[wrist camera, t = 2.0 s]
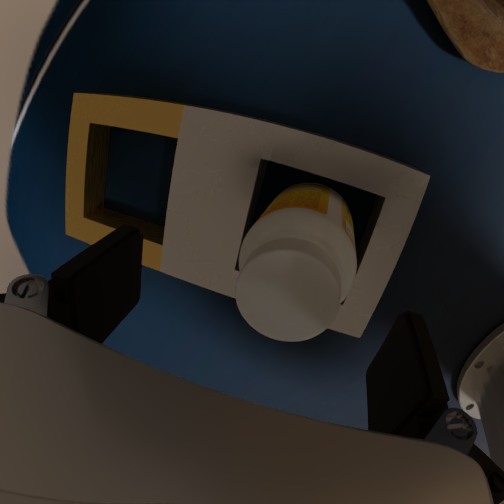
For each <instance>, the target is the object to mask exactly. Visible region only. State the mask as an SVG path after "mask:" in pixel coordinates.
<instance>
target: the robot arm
mask: <svg viewBox="0 0 504 504" xmlns="http://www.w3.org/2000/svg"><path fill="white" fill-rule="evenodd" d="M142 252H143V234H142V233H140V229H139V228H136V227H133V226H130V225H127V224H123V225H122V226H120V227H119V228H117V229H115V230H114V231H112V232H111V233H109V234H108V235H106V236H105V237H103V238H102V239H100V240H99V241H97V242H96V243H94V244H93V245H91V246H90V247H88V248H87V249H85V250H84V251H82V252H81V253H79V254H78V255H77V256H75V257H74V258H72V259H71V260H69V261H68V262H67V263H65V264H64V265H62V266H61V267H59V268H58V269H57V270H55V271H54V272H53V273H51V276H52V279H51V280H49V281H48V282H47V280H46V279H45V278H44V277H42V276H40V275H36V274H27V275H22V276H19V277H17V278H15V279H14V280H12V282H11V283H10V284H9V286H8V288H7V292H6V293H5V294H0V504H504V323H503V324H502V325H500V326H499V327H497V328H496V329H495V330H494V331H493V332H491V333H490V334H489V335H488V336H487V337H486V338H485V339H484V340H483V341H482V342H481V343H480V344H479V345H478V346H477V347H476V348H475V350H474V351H473V353H472V354H471V355H470V357H469V358H468V359H467V361H466V363H465V365H464V366H463V368H462V370H461V373H460V376H459V378H458V383H457V388H456V389H457V397H458V401H459V404H460V407H461V409H462V410H461V409H458V408H449V409H448V405H447V402H448V401H449V396H448V393H447V389H446V385H445V382H444V379H443V375H442V372H441V369H440V366H439V362H438V359H437V356H436V353H435V350H434V347H433V344H432V341H431V338H430V335H429V332H428V330H427V327H426V324H425V321H424V319H423V316H422V315H420V314H417V313H414V312H410V311H406V312H405V313H404V314H402V313H401V314H400V315H399V316H398V318H397V320H396V321H395V323H394V325H393V327H392V329H391V330H390V332H389V334H388V336H387V337H386V339H385V341H384V342H383V344H382V346H381V348H380V349H379V351H378V353H377V354H376V356H375V357H374V359H373V361H372V362H371V364H370V365H369V367H368V369H367V373H366V385H367V404H368V430H364V429H359V428H354V427H349V426H344V425H339V424H335V423H330V422H326V421H321V420H317V419H313V418H308V417H304V416H300V415H297V414H293V413H289V412H285V411H282V410H278V409H274V408H271V407H267V406H264V405H260V404H257V403H254V402H250V401H247V400H244V399H241V398H237V397H234V396H231V395H228V394H225V393H222V392H219V391H216V390H213V389H210V388H208V387H205V386H202V385H199V384H196V383H194V382H191V381H188V380H186V379H183V378H180V377H178V376H175V375H172V374H170V373H167V372H165V371H162V370H160V369H157V368H155V367H152V366H150V365H148V364H145V363H143V362H141V361H138V360H136V359H134V358H131V357H129V356H127V355H125V354H122V353H120V352H118V351H116V350H114V349H111V348H109V347H107V346H105V345H103V344H102V343H103V342H104V340H105V339H106V338H107V337H108V336H109V335H110V334H111V333H112V331H113V330H114V329H115V328H116V327H117V326H118V325H119V323H120V322H121V321H122V320H123V319H124V318H125V317H126V316H127V315H128V313H129V312H130V311H131V310H132V309H133V308H134V307H135V306H136V305H137V303H138V301H139V299H140V290H141V268H142ZM470 416H471V417H473V418H476V419H481V421H482V425H483V428H484V432H485V436H486V440H487V444H488V448H489V452H490V457H491V459H490V458H489V457H488V456H487V455H486V454H485V453H484V452H482V451H481V450H480V449H479V448H478V447H477V446H476V445H475V444H474V441H475V439H476V436H477V428H476V425H475V422H474V421H473V419H472V418H471V417H470Z"/></svg>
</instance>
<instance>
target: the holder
mask: <svg viewBox="0 0 504 504" xmlns="http://www.w3.org/2000/svg"><path fill="white" fill-rule="evenodd" d="M111 126H114V127H120V128H126V129H132V130H137V131H143V132H148V133H153V134H159V135H164V136H169V137H173V138H178V142H177V147H176V153H175V159H174V165H173V171H172V178H171V185H170V191H169V198H168V206H167V213H166V221H165V227H163V226H160V225H156V224H153V223H150V222H147V221H144V220H141V219H138V218H135V217H132V216H129V215H126V214H123V213H120V212H117V211H114V210H110V209H107V208H104V200H105V184H106V172H107V161H108V151H109V142H110V134H111ZM268 160H269V161H272V162H276V163H280V164H283V165H287V166H290V167H293V168H297V169H300V170H304V171H307V172H310V173H313V174H317V175H320V176H323V177H326V178H329V179H333V180H336V181H339V182H342V183H345V184H348V185H351V186H354V187H357V188H360V189H363V190H365V191H368V192H371V193H374V194H377V197H376V200H375V203H374V206H373V209H372V211H371V214H370V217H369V220H368V222H367V225H366V228H365V231H364V233H363V236H362V239H361V241H360V244H359V246H358V249H357V252H356V258H357V271H356V277H355V281H354V284H353V286H352V288H351V290H350V292H349V294H348V295H347V297H346V298H345V299H344V301H343V302H342V303H341V304H340V306H339V311H338V313H337V315H336V318H335V319H334V321H333V322H332V324H331V325H330V326H329V327H328V329H331V330H334V331H338V332H341V333H344V334H348V335H351V336H354V337H358V338H360V337H361V335H362V333H363V331H364V330H365V328H366V326H367V324H368V322H369V320H370V318H371V316H372V314H373V312H374V310H375V308H376V306H377V304H378V302H379V300H380V298H381V296H382V294H383V292H384V290H385V287H386V285H387V283H388V281H389V279H390V277H391V274H392V272H393V270H394V268H395V266H396V263H397V261H398V259H399V256H400V254H401V252H402V249H403V247H404V245H405V242H406V240H407V238H408V235H409V233H410V230H411V228H412V225H413V223H414V220H415V217H416V215H417V212H418V210H419V207H420V204H421V202H422V199H423V196H424V193H425V190H426V188H427V185H428V182H429V179H430V175H428V174H426V173H425V172H423V171H422V170H420V169H418V168H416V167H413V166H411V165H408V164H406V163H403V162H401V161H398V160H395V159H393V158H390V157H387V156H385V155H382V154H379V153H376V152H374V151H371V150H368V149H365V148H362V147H359V146H356V145H353V144H350V143H347V142H344V141H341V140H338V139H334V138H331V137H328V136H325V135H321V134H318V133H315V132H311V131H308V130H304V129H300V128H297V127H293V126H289V125H286V124H282V123H278V122H274V121H270V120H266V119H262V118H257V117H253V116H249V115H244V114H240V113H235V112H230V111H226V110H221V109H215V108H210V107H205V106H199V105H194V104H188V103H182V102H175V101H169V100H162V99H154V98H147V97H138V96H130V95H120V94H109V93H74V95H73V102H72V110H71V118H70V128H69V138H68V151H67V167H66V202H65V213H66V234H67V235H69V236H71V237H74V238H76V239H79V240H81V241H84V242H86V243H88V244H91V245H93V244H94V243H96V242H97V241H99V240H100V239H102V238H103V237H105V236H106V235H108V234H109V233H111V232H112V231H114V230H115V229H117V228H119V227H120V226H122V225H123V224H127V225H130V226H133V227H136V228H139V229H140V233H142V234H143V252H142V265H144V266H147V267H149V268H152V269H155V270H157V271H160V272H163V273H165V274H168V275H171V276H173V277H176V278H179V279H182V280H184V281H187V282H190V283H193V284H195V285H198V286H201V287H204V288H207V289H209V290H212V291H215V292H218V293H221V294H224V295H227V296H229V297H232V298H235V286H236V282H237V278H238V275H239V273H240V270H239V253H240V249H241V245H242V243H243V240H244V238H245V236H246V235H247V233H248V231H249V230H250V229H251V227H252V225H253V221H254V217H255V213H256V209H257V205H258V201H259V197H260V193H261V189H262V184H263V180H264V176H265V172H266V168H267V164H268ZM235 299H236V298H235Z"/></svg>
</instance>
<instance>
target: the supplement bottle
mask: <svg viewBox="0 0 504 504" xmlns="http://www.w3.org/2000/svg"><path fill="white" fill-rule="evenodd" d="M239 270H240V273H239V275H238V278H237V282H236V286H235V298H236V303H237V306H238V309H239V311H240V313H241V315H242V316H243V318H244V319H245V320H246V322H247V323H248V324H249V325H250V326H251V327H252V328H254V329H255V330H256V331H258V332H259V333H261V334H263V335H265V336H267V337H269V338H272V339H275V340H280V341H288V342H297V341H303V340H308V339H310V338H313V337H315V336H317V335H319V334H320V333H322V332H323V331H325V330H326V329H327V328H328V327H329V326H330V325H331V324H332V322H333V321H334V319H335V318H336V315H337V313H338V311H339V306H340V304H341V303H342V302H343V301H344V299H345V298H346V297H347V295H348V294H349V292H350V290H351V288H352V286H353V284H354V281H355V277H356V271H357V258H356V248H355V237H354V228H353V222H352V216H351V212H350V210H349V207H348V205H347V203H346V202H345V200H344V199H343V198H342V197H341V196H340V195H339V194H338V193H337V192H336V191H334V190H333V189H331V188H329V187H327V186H325V185H322V184H318V183H300V184H296V185H293V186H290V187H288V188H287V189H285V190H283V191H282V192H281V193H280V194H279V195H278V196H277V197H276V198H275V199H274V200H273V202H272V203H271V204H270V205H269V206H268V208H267V209H266V210H265V212H264V213H263V214H262V215H261V216H260V218H259V219H258V220H257V221H256V222H255V224H254V225H253V226H252V227H251V229H250V230H249V231H248V233H247V235H246V236H245V238H244V240H243V243H242V245H241V249H240V253H239Z"/></svg>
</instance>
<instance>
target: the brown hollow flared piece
mask: <svg viewBox="0 0 504 504" xmlns="http://www.w3.org/2000/svg"><path fill="white" fill-rule="evenodd" d="M426 1H427V2H428V4H429V6H430V7H431V9H432V11H433V12H434V14H435V16H436V18H437V19H438V21H439V23H440V25H441V26H442V28H443V30H444V31H445V33H446V35H447V36H448V38H449V39H450V40H451V42H452V43H453V45H454V46H455V48H456V49H457V51H458V52H459V53H460V55H461V56H462V57H463V58H464V59H465V60H466V61H468V62H469V63H470V64H472V65H474V66H475V67H478V68H481V69H484V70H488V71H492V72H498V73H504V0H426Z"/></svg>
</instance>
